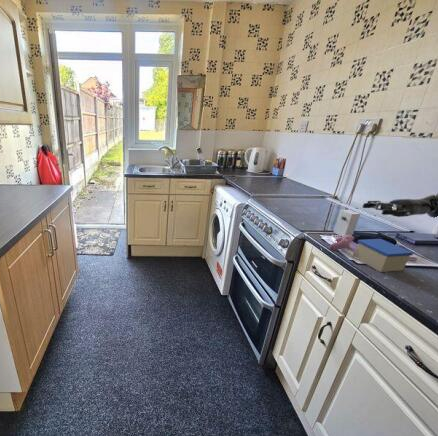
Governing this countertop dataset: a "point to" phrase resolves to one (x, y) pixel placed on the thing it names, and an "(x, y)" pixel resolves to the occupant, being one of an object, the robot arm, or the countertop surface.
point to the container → (382, 255)
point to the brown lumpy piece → (342, 242)
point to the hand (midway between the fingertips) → (373, 208)
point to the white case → (346, 223)
